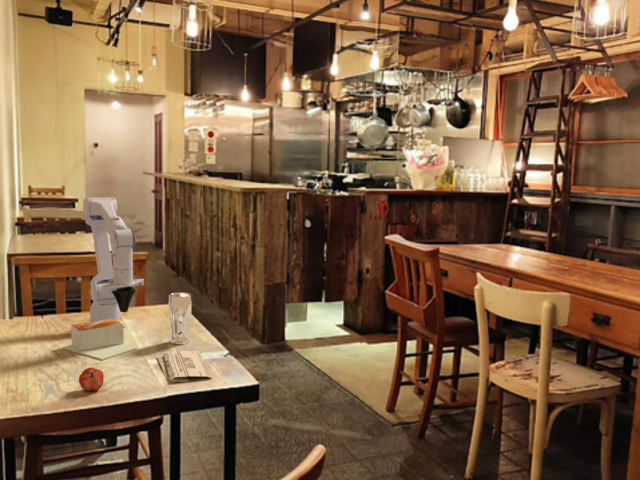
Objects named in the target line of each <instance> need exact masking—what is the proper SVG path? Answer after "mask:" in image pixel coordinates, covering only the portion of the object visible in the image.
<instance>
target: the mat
mask: <svg viewBox="0 0 640 480" xmlns="http://www.w3.org/2000/svg"><path fill="white" fill-rule="evenodd" d="M62 349H63V350H66V351H70V352H73V353H76V354H80V355H83V356H87V357H90V358H93V359H96V360H100V361H104V360H105V361H106V360H108V359H111V358H114V357H117V356H121V355H123V354H126V353H130V352H132V351H135V350H137V347H133V346H130V345H127V344H124V343H123V344H117V345H111V346H106V347H100V348H95V349H89V350H84V351H80V350H78V349H77V348H76V347H75V346H74V345H73V344H72V343H71V344H70V345H66V346H62Z"/></svg>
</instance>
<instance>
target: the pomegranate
mask: <svg viewBox="0 0 640 480" xmlns="http://www.w3.org/2000/svg"><path fill="white" fill-rule="evenodd" d="M104 376H105V375H104V372H103V371H102V370H101V369H97V368H95V367H94V366H93V367H87V368H85V369H84V370H83V371H82V373H80V374H79V377H78V383H79V386H80V387H81V389H83V390H84V391H86V392H91V391H97V390H100V389H101V388H102V386H103V384H104Z"/></svg>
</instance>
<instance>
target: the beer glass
mask: <svg viewBox="0 0 640 480" xmlns="http://www.w3.org/2000/svg"><path fill="white" fill-rule="evenodd" d="M167 305H168V306H167V307H168V318H169V322H170V329H171V330H170V331H171V333H170V341H169V343H170V344H173V345H176V346H177V345H185V344H189V343H191V337H190V322H191V317H192V296H191V293H189V292H173V293H170V294H168V304H167Z"/></svg>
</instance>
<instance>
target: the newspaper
mask: <svg viewBox="0 0 640 480" xmlns="http://www.w3.org/2000/svg"><path fill="white" fill-rule="evenodd" d="M156 358H157V359H158V362H159V364H160V366H161V369H162V371H163V374H164V377H165V378H166V379H167V380H169V381H170V383H176V382H182V383H183V382H184V383H185V382H190V379H189V378H188V377H190V378H191V377H202V378H203V377H204V378H206V377H207V378H208V379H209V380H212V379H213V378H212V375H211V374H210V371H209V369H208V367H207V365H206V363H205V360H204V358H203V357H202V355H201V353H200V351H197V350H174V351H173V350H172V351H171V350H170V351H165V352H163V353H162V355H157V356H156Z"/></svg>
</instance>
